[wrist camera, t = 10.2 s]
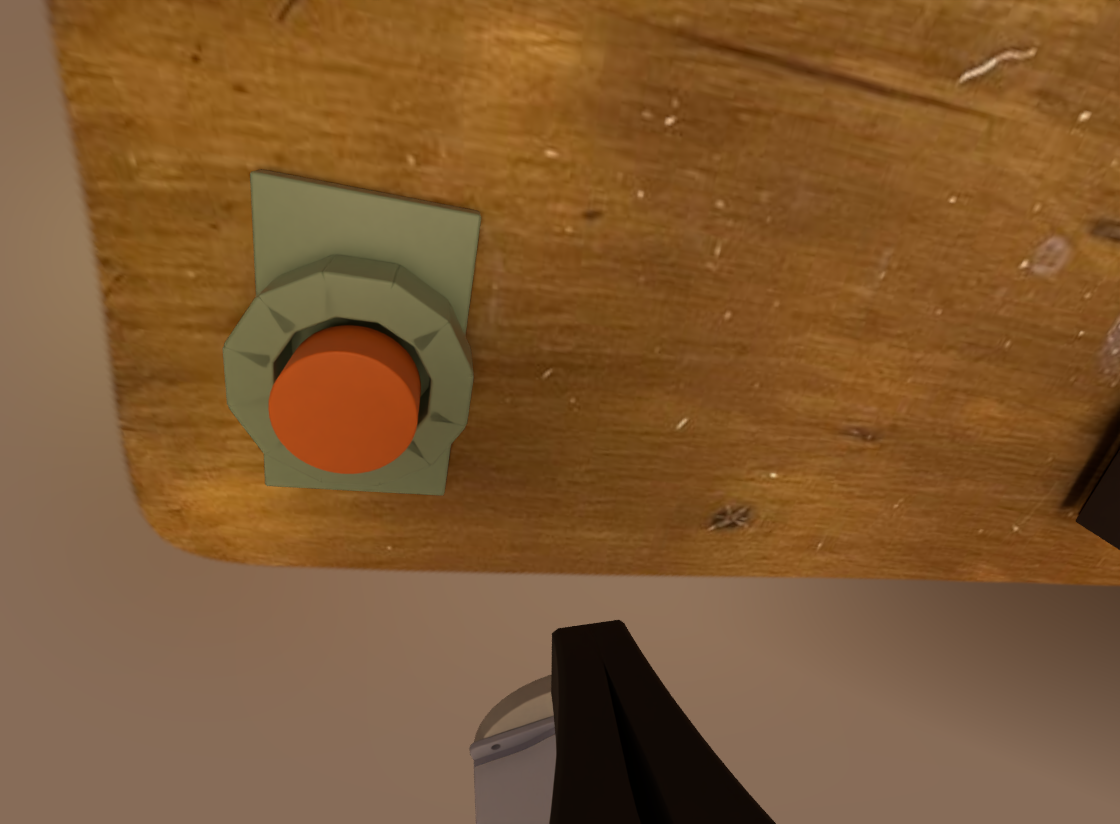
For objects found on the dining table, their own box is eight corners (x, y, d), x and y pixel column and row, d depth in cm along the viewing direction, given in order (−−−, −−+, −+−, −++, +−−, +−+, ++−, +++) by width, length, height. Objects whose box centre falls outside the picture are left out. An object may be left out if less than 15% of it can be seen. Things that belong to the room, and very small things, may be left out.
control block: (451, 484, 20) (451, 533, 18) (263, 472, 19) (235, 525, 16) (488, 212, 16) (496, 228, 14) (248, 166, 14) (207, 175, 12)
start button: (415, 442, 17) (411, 479, 15) (289, 432, 16) (269, 470, 14) (426, 333, 15) (423, 361, 13) (286, 315, 14) (264, 341, 12)
